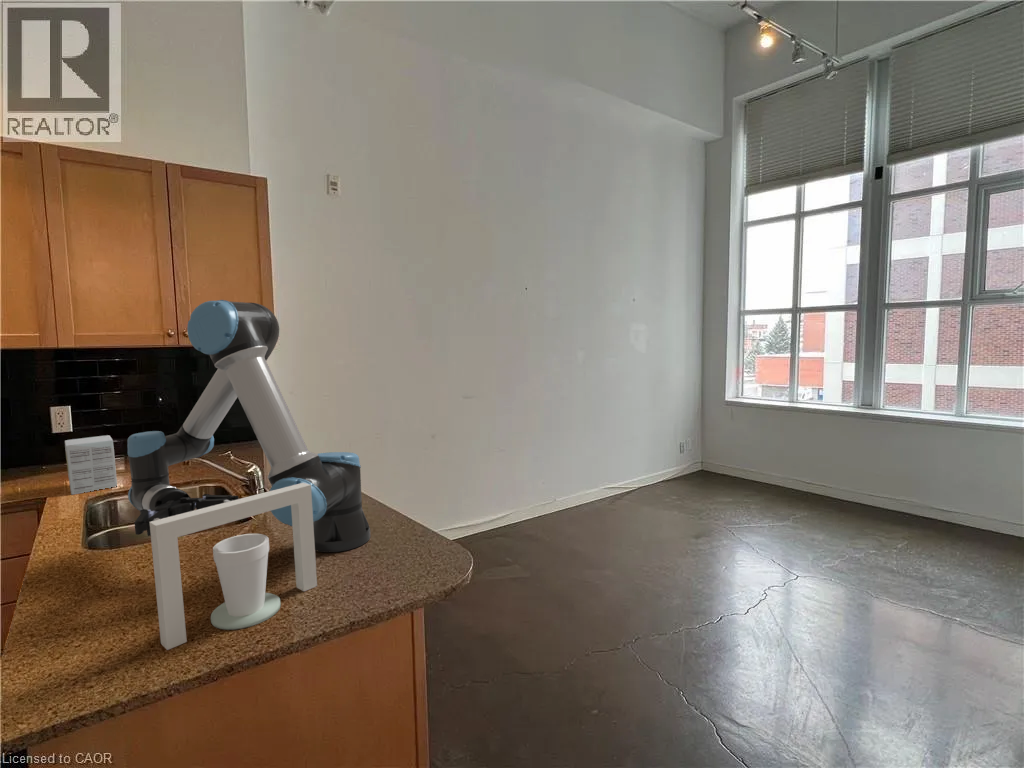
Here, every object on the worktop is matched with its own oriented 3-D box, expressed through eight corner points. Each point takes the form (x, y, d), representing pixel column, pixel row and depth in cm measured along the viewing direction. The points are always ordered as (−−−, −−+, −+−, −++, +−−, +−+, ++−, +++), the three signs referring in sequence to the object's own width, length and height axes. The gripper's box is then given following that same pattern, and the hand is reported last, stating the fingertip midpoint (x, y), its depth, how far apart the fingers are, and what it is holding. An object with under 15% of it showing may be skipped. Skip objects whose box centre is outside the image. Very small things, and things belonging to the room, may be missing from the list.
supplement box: (69, 487, 189) (64, 440, 187) (114, 480, 198) (110, 434, 196) (70, 495, 179) (65, 445, 178) (118, 487, 188) (113, 439, 186)
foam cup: (280, 594, 106) (276, 532, 104) (260, 619, 97) (255, 552, 95) (233, 596, 105) (228, 534, 104) (208, 622, 96) (202, 554, 95)
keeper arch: (298, 576, 116) (292, 479, 113) (329, 592, 108) (322, 488, 106) (152, 634, 94) (140, 516, 92) (177, 660, 86) (165, 531, 84)
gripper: (225, 503, 131) (266, 519, 118) (103, 536, 112) (136, 560, 99) (222, 474, 130) (263, 487, 117) (98, 502, 111) (132, 521, 98)
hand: (205, 520), depth 108 cm, fingers open, 13 cm apart
